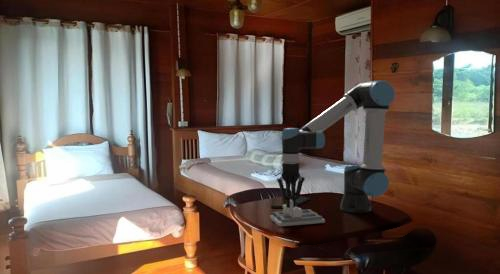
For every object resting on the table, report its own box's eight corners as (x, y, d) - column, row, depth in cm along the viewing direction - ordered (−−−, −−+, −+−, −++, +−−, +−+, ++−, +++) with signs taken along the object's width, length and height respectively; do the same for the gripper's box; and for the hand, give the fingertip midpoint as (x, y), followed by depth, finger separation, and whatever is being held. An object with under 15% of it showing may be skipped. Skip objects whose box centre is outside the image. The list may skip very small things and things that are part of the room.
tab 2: (299, 218, 186) (299, 206, 186) (301, 220, 183) (301, 208, 183) (290, 218, 185) (290, 206, 185) (293, 220, 182) (293, 208, 182)
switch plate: (313, 215, 197) (313, 209, 197) (324, 222, 185) (324, 216, 184) (270, 218, 192) (270, 212, 191) (278, 226, 179) (279, 219, 179)
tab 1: (290, 214, 193) (290, 202, 192) (293, 216, 190) (293, 204, 189) (282, 215, 192) (282, 203, 191) (285, 217, 188) (285, 205, 188)
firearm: (285, 194, 236) (310, 196, 230) (285, 198, 236) (310, 200, 230) (267, 205, 210) (295, 207, 204) (267, 209, 210) (295, 212, 204)
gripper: (301, 160, 187) (301, 211, 189) (274, 162, 183) (274, 213, 185) (307, 163, 180) (307, 215, 181) (279, 164, 176) (279, 217, 178)
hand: (290, 214), depth 183 cm, fingers closed
